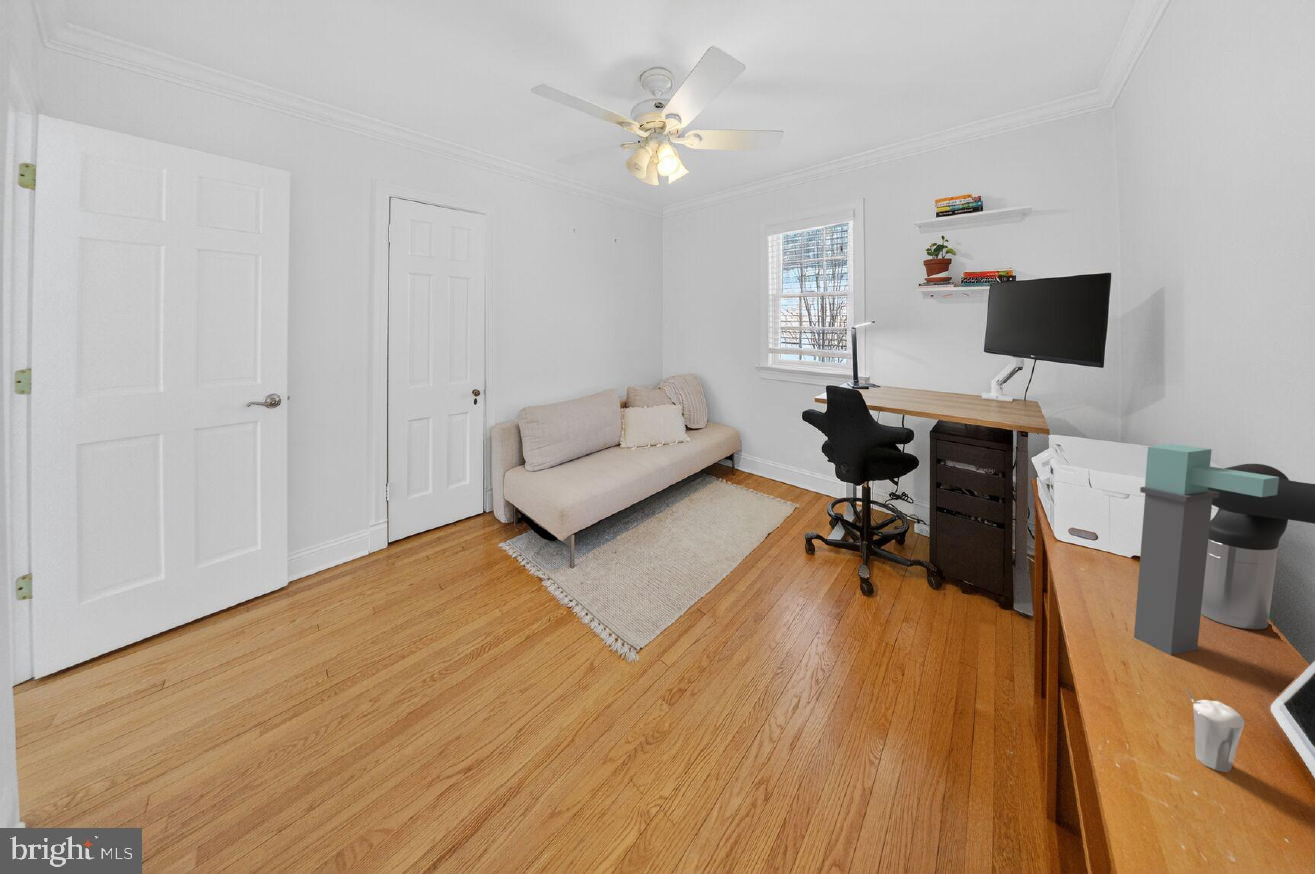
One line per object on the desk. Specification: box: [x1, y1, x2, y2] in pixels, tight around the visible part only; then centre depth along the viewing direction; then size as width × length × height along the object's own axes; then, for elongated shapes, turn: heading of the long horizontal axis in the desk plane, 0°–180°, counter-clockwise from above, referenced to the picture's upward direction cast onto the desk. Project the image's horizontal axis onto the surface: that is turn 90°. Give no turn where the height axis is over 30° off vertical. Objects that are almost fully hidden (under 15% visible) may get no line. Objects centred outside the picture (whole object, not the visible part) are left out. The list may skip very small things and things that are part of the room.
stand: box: [1133, 486, 1219, 656], centre depth 87 cm, size 7×7×32 cm
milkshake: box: [1185, 687, 1245, 773], centre depth 64 cm, size 4×5×10 cm
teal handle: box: [1144, 443, 1279, 497], centre depth 80 cm, size 15×5×8 cm, turn 7°
